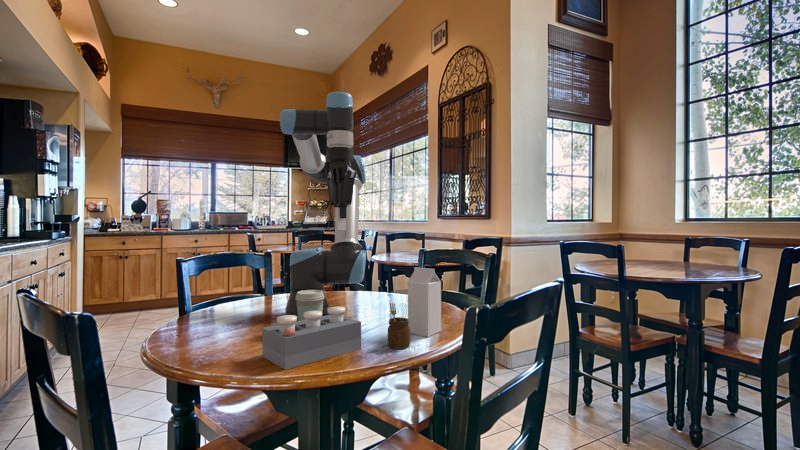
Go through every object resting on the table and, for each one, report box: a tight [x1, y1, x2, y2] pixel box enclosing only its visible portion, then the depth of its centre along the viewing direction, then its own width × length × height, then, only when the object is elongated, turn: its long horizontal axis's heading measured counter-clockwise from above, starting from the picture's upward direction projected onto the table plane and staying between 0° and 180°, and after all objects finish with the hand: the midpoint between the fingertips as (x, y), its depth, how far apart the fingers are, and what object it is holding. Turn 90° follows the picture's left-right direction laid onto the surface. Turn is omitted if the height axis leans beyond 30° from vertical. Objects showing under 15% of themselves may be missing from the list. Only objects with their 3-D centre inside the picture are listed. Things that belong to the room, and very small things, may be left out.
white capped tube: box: [276, 315, 298, 334], centre depth 96 cm, size 5×5×7 cm
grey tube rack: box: [261, 314, 362, 371], centre depth 100 cm, size 12×21×8 cm, turn 133°
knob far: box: [328, 306, 346, 323], centre depth 105 cm, size 5×5×7 cm
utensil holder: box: [387, 302, 411, 350], centre depth 105 cm, size 6×6×12 cm
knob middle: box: [303, 311, 322, 329], centre depth 100 cm, size 5×5×7 cm
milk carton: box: [407, 266, 442, 338], centre depth 118 cm, size 7×7×19 cm
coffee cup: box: [295, 290, 325, 321], centre depth 119 cm, size 8×9×12 cm
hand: (340, 229), depth 116 cm, fingers closed
